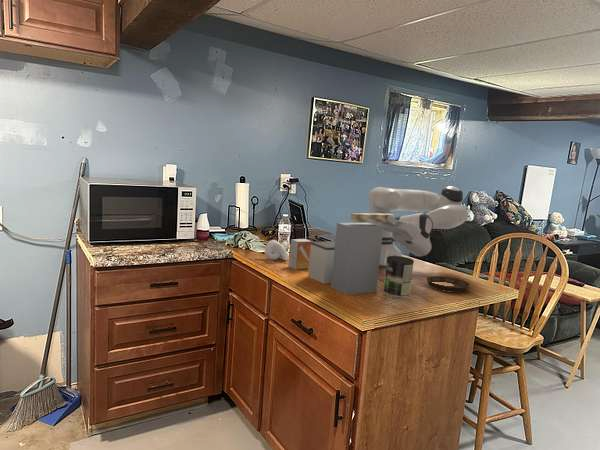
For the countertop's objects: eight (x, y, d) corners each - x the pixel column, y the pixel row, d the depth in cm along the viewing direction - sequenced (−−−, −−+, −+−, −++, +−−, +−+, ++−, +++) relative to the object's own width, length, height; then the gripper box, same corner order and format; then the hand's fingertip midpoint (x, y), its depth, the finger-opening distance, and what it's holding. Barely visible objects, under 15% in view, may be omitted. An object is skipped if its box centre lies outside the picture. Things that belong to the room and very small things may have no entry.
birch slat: (387, 220, 173) (388, 213, 173) (393, 222, 170) (394, 214, 170) (350, 220, 164) (350, 213, 164) (355, 222, 161) (356, 214, 161)
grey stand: (360, 284, 176) (367, 222, 172) (376, 291, 168) (383, 226, 164) (331, 287, 169) (336, 222, 165) (345, 294, 160) (352, 227, 156)
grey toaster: (342, 273, 192) (345, 240, 190) (358, 280, 182) (361, 246, 179) (308, 275, 183) (311, 241, 181) (323, 283, 173) (326, 247, 170)
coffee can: (387, 297, 161) (391, 261, 159) (380, 289, 171) (383, 255, 169) (413, 298, 162) (418, 262, 160) (404, 290, 172) (408, 256, 170)
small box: (295, 269, 192) (297, 241, 190) (288, 266, 197) (290, 239, 195) (310, 268, 196) (312, 241, 194) (302, 265, 201) (304, 238, 200)
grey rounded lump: (272, 255, 219) (274, 238, 217) (293, 258, 214) (295, 241, 212) (261, 258, 208) (263, 241, 207) (283, 262, 203) (284, 244, 202)
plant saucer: (417, 282, 187) (418, 276, 187) (449, 281, 194) (450, 275, 193) (444, 295, 171) (445, 288, 170) (478, 293, 177) (479, 286, 177)
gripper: (390, 222, 186) (370, 206, 179) (424, 230, 168) (404, 213, 161) (383, 235, 185) (363, 219, 178) (417, 244, 168) (396, 227, 161)
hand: (382, 216), depth 170 cm, fingers closed on birch slat, 3 cm apart
